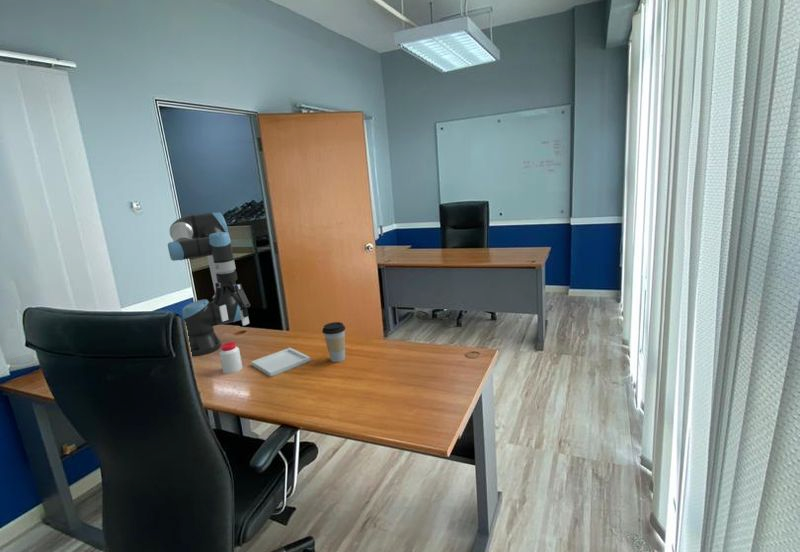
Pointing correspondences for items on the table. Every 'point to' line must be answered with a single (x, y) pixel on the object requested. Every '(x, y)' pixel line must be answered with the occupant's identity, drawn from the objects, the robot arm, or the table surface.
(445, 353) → the table surface
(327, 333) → the coffee cup
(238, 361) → the pill bottle
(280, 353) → the tray
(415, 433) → the table surface
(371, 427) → the table surface
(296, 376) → the table surface
